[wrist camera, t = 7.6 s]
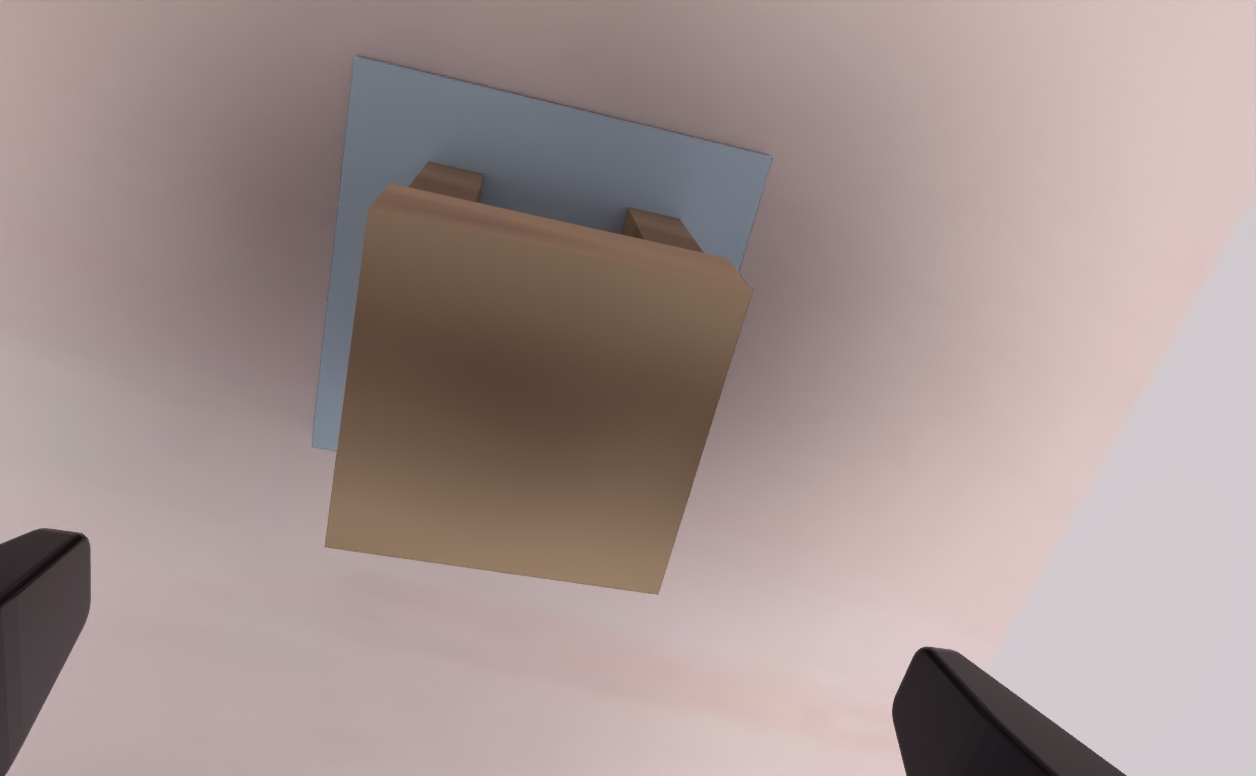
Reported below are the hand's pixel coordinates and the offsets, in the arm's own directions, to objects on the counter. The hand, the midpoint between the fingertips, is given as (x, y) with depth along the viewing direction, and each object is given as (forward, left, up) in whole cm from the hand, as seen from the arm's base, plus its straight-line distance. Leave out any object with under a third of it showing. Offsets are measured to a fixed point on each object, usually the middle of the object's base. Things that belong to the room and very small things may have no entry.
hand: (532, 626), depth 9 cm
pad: (0, 0, -12) cm, 12 cm away
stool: (0, 0, -11) cm, 11 cm away
